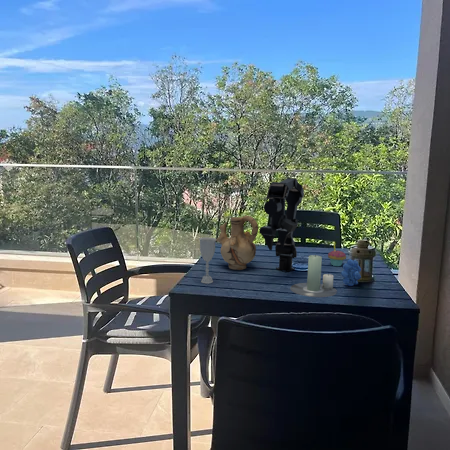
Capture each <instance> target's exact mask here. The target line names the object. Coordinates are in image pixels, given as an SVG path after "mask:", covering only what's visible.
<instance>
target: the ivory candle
mask: <svg viewBox="0 0 450 450" xmlns="http://www.w3.org/2000/svg"><path fill="white" fill-rule="evenodd" d="M322 284H323V286H322V288H324V289H333V288H334V275H333V274H331V273H324V274H322Z"/></svg>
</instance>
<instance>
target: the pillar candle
mask: <svg viewBox="0 0 450 450" xmlns="http://www.w3.org/2000/svg"><path fill="white" fill-rule="evenodd" d="M322 259H323V257H322V255H321V256H320V255H316V254H311V255H308V260H307V261H308V263H307V278H306V280H307V281H306V283H307V290H309V291H319V290H320V284H321V280H322V277H321V276H322V262H323V261H322Z"/></svg>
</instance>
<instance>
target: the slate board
mask: <svg viewBox="0 0 450 450" xmlns="http://www.w3.org/2000/svg"><path fill="white" fill-rule="evenodd" d="M322 286H323V283H320V290H319V291H309V290H307V282H299V283H295V284H294V283H293V285H291V286H290V287H289V290H290V291H291V292H293V293H294V294H295V295H296V294H297V295H300V296H304V297H310V298H326V297H327V298H328V297H333V296H335V295H337V293H338V290H337V289H336V288H334V287H333V289H324V288H322Z"/></svg>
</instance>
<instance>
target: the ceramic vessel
mask: <svg viewBox="0 0 450 450" xmlns="http://www.w3.org/2000/svg"><path fill="white" fill-rule="evenodd" d="M246 222H248V223H249V224H250V225H251V232H250V231H245V229H244V226H245V223H246ZM227 224H228V223H227V221H226V222H224V223H223V224H220V226H219V229H220V233H219V236H218V237H217V238H215V239H216V241H215V242H217V243H220V245H221V247H220V255H221V257H222V258H223V260H224V262H225V263H228V264H227V265H228V268H229V269H230V270H236V271H242V270H245V269H247V264H249V263H251V261H253V260H254V259H255V257H256V253H257V246H256V244H255V243H254V242H255V240H256V238H257V236H258V234H259V225H258V222H257V221H256V219H255V218H253V217H252V216H250V215H244V216H240V217H239V216H238V217H237V216H233V217H230V224H231V226H230V227H231V228H230V236H229V237H228V233H227Z"/></svg>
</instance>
